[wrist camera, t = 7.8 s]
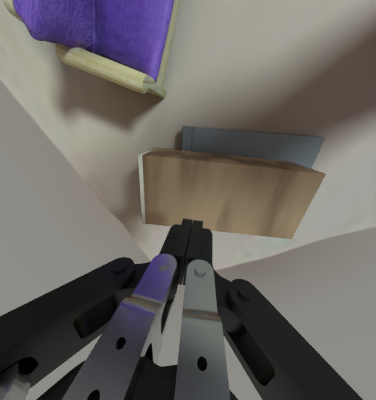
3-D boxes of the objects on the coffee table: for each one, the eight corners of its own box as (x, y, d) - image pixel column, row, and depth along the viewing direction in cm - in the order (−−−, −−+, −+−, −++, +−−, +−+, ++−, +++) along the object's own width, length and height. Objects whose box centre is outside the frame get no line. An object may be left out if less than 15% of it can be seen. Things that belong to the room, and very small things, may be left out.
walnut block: (154, 147, 19) (289, 161, 19) (154, 200, 23) (269, 212, 23) (138, 154, 14) (325, 173, 14) (142, 223, 18) (291, 238, 17)
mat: (322, 137, 18) (332, 138, 16) (281, 228, 24) (286, 235, 23) (185, 126, 20) (182, 126, 18) (180, 214, 26) (178, 219, 24)
